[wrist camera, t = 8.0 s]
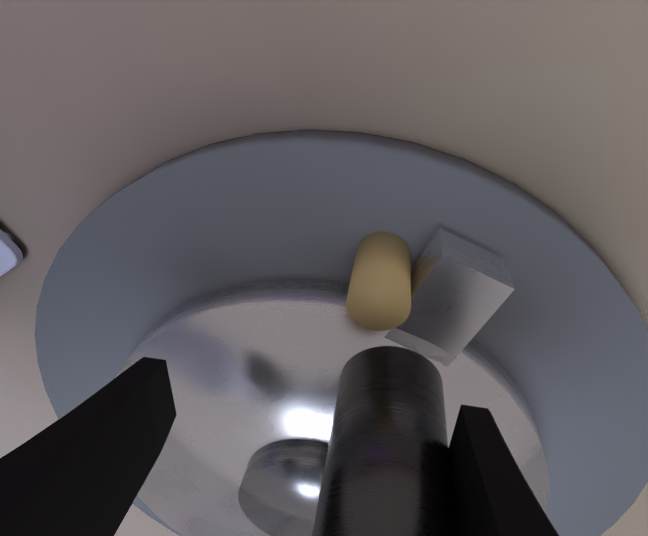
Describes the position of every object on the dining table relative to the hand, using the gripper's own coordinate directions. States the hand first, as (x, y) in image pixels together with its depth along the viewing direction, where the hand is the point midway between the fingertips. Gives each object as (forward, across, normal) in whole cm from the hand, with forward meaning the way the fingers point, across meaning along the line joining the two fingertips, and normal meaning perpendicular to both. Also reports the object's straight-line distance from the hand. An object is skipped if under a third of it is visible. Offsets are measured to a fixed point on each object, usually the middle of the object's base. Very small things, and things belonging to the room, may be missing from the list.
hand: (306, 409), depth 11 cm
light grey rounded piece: (+4, 0, +5) cm, 6 cm away
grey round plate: (+6, 0, +6) cm, 8 cm away
